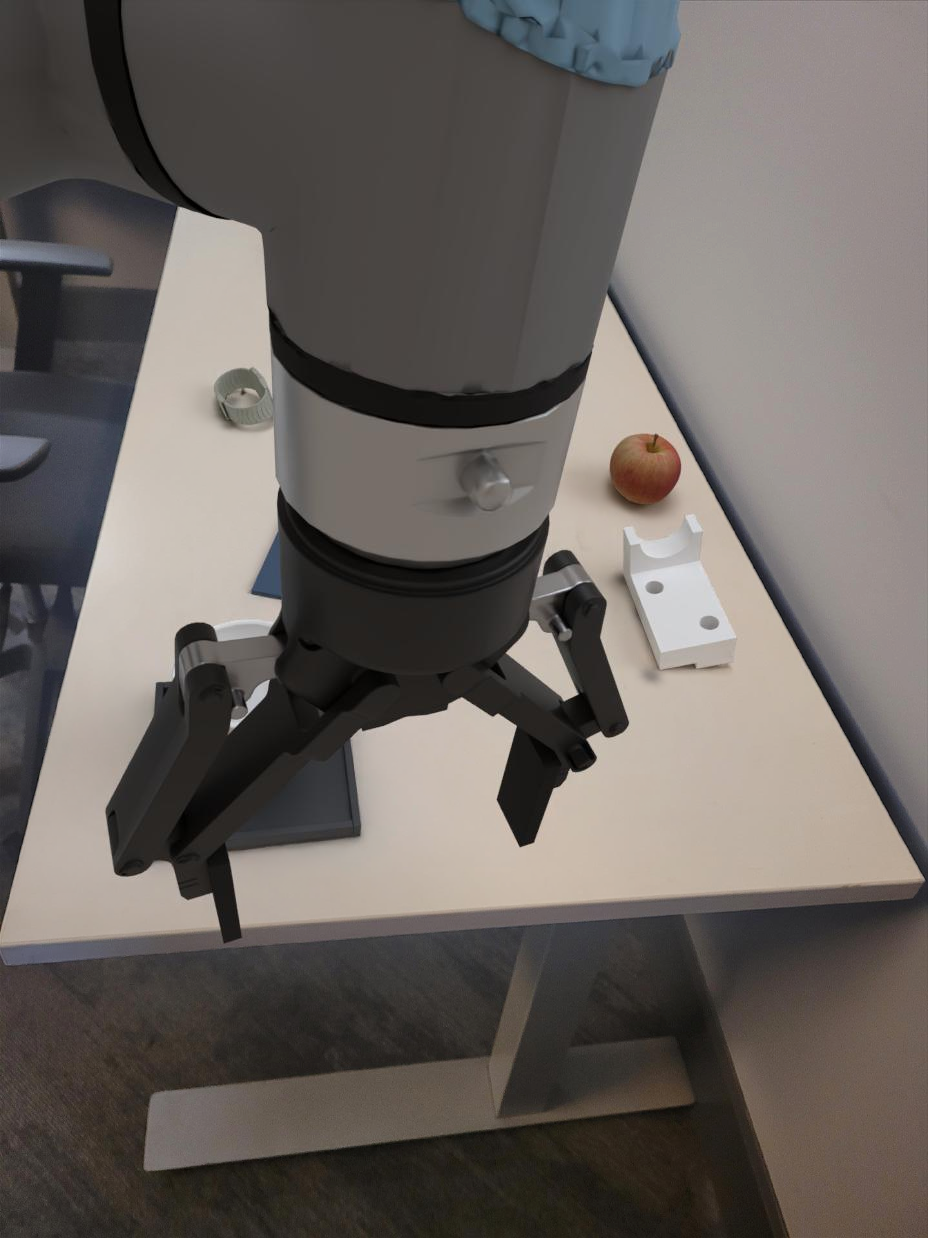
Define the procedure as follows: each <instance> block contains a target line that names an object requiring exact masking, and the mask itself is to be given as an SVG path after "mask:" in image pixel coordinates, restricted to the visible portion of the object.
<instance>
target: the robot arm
mask: <svg viewBox="0 0 928 1238" xmlns="http://www.w3.org/2000/svg"><path fill="white" fill-rule="evenodd" d="M680 3H681V0H0V202H3V201H6V200H8V199H11V198H13V197H17V196H19V195H22V194H24V193H27V192H30V191H32V190H35V189H38V188H41V187H42V186H46V185H47V184H51V183H54V182H57V181H61V180H72V179H73V180H74V179H80V180H81V179H82V180H83V179H84V180H94V181H99V182H102V183H105V184H108V185H111V186H113V187H118V188H121V189H124V190H127V191H130V192H133V193H136V194H139V195H141V196H145V197H148V198H151V199H154V200H157V201H160V202H163V203H166V204H169V205H172V206H175V207H178V208H182V209H185V210H188V211H190V212H193V213H198V214H200V215H204V216H207V217H210V218H214V219H218V220H225V221H234V222H236V223H240V224H243V225H246V226H249V227H251V228H255V229H256V230H257V231H258V232H259V233H260V235H261V240H262V249H263V262H264V280H265V282H264V283H265V296H266V297H265V298H266V306H267V309H268V330H269V331H268V332H269V340H270V341H269V343H270V344H269V345H270V369H271V391H272V392H271V396H272V399H273V415H272V418H273V419H272V420H273V423H272V424H273V442H274V443H273V444H274V445H273V446H274V467H275V468H274V470H275V471H274V472H275V478H276V481H277V483H278V485H279V487H278V491H277V498H276V514H277V532H278V537H279V558H280V579H281V599H280V600H281V605H280V606H281V607H280V610H279V613H278V616H277V617H276V619H275V621H273V622H274V624H273V625H272V627H271V629H270V631H269V633H268V635H267V636H259V637H251V638H243V639H235V640H227V641H220V642H218V639H217V636H216V632H215V629H214V628H213V626H212V625H211V624H209V623H207V622H205V621H204V622H201V621H200V622H199V621H195V622H191V623H187V624H185V625H184V626H182V627H180V628H179V629H178V631H177V632H175V636H174V663H175V677H174V679H173V681H172V680H171V681H172V682H171V684H170V686H169V688H168V690H167V692H166V694H165V696H164V698H163V700H162V702H161V703H160V705H159V707H158V709H157V711H156V713H155V715H154V714H153V717H152V719H151V721H150V722H149V725H148V726H147V729H146V731H145V732H144V734H143V736H142V738H141V740H140V742H139V744H138V745H137V748H136V749H135V751H134V753H133V755H132V757H131V759H130V761H129V762H128V765H127V767H126V768H125V770H124V772H123V774H122V776H121V779H119V781H118V784H117V786H116V788H115V790H113V791H114V792H113V793H112V795H111V797H110V799H109V801H108V803H107V804H106V806H105V811H104V812H105V813H104V814H105V819H106V827H107V833H108V841H109V847H110V854H111V861H112V866H113V873H114V874H115V875H116V876H119V877H122V878H129V877H134V876H138V875H140V874H143V873H144V872H146V871H148V870H149V869H150V868H151V866H152V865H153V863H154V862H159V861H160V862H167V863H169V864H170V865H171V866H172V868H173V871H174V875H175V879H176V883H177V886H178V887H177V888H178V891H179V894H180V897H181V898H183V899H185V900H187V901H190V900H194V899H197V898H201V897H203V896H207V895H210V894H212V897H213V902H214V907H215V911H216V916H217V921H218V924H219V930H220V933H221V937H222V942H223V944H224V945H225V944H228V943H230V942H233V941H237V940H240V939H243V934H242V929H241V922H240V916H239V910H238V909H239V908H238V904H237V903H238V902H237V896H236V891H235V884H234V878H233V873H232V866H231V860H230V856H229V853H228V852H229V851H227V848H226V843H225V841H226V840H227V839H228V838H230V837H231V836H232V835H233V834H234V833H235V832H236V831H237V830H238V829H239V828H240V827H241V826H242V825H243V824H244V823H245V822H246V821H247V820H248V819H249V818H250V817H251V816H253V815H254V814H255V813H256V812H257V811H258V810H259V809H260V808H261V807H262V806H263V805H264V804H265V803H266V802H267V801H268V800H269V799H270V798H271V797H272V796H273V795H274V794H275V793H277V792H278V791H279V790H280V789H281V788H282V787H283V786H284V785H285V784H286V783H287V782H288V781H289V780H290V779H291V778H292V777H293V776H294V775H295V774H296V773H297V772H298V771H300V770H301V769H302V768H303V767H304V766H305V765H306V764H307V763H308V762H309V761H310V760H314V761H319V762H325V761H326V760H328V759H329V758H330V757H331V756H332V755H333V754H334V753H335V752H336V751H337V750H339V749H340V748H341V747H342V746H343V745H344V744H345V743H346V742H347V741H348V740H349V739H350V740H351V738H352V737H353V736H355V735H356V734H357V733H358V732H359V731H360V730H361V732H365V731H370V730H373V729H374V730H375V729H378V728H381V727H385V726H387V725H390V724H392V723H394V722H397V721H400V720H402V719H405V718H407V717H420V716H429V715H433V714H437V713H441V712H444V711H447V710H448V709H449V705H450V704H452V703H453V702H455V701H457V700H460V699H464V700H466V701H467V702H469V703H470V704H471V705H473V706H474V707H476V708H477V709H479V710H481V711H483V712H484V713H486V714H487V715H488V716H490V717H492V718H494V717H495V716H496V715H500V716H501V717H503V718H504V719H506V720H507V721H508V722H510V723H511V724H513V725H514V726H516V727H515V731H514V734H513V738H512V742H511V745H510V748H509V753H508V756H507V761H506V764H505V766H504V771H503V775H502V778H501V781H500V785H499V789H498V793H497V796H496V802H497V804H498V806H499V808H500V810H501V812H502V814H503V816H504V818H505V821H506V823H507V824H508V827H509V828H510V831H511V833H512V835H513V837H514V839H515V841H516V843H517V845H518V847H519V848H524V847H525V846H529V845H532V844H535V841H536V839H537V836H538V833H539V830H540V827H541V825H542V822H543V819H544V816H545V813H546V811H547V808H548V805H549V803H550V800H551V797H552V795H553V792H554V789H557V788H560V787H561V786H562V785H563V784H564V783H565V781H566V780H567V778H568V777H569V776H568V775H569V773H570V771H571V773H582V772H583V771H586V770H588V769H590V768H591V767H592V766H594V764H595V763H596V762H597V759H598V756H597V755H596V753H595V750H594V749H593V748H592V746H591V744H590V743H589V741H588V739H589V738H590V737H593V736H595V735H597V734H599V733H601V734H602V735H603V737H605V738H607V739H611V738H614V737H617V736H619V735H621V734H623V733H624V732H626V730H627V729H628V727H629V726H630V720H629V717H628V714H627V711H626V708H625V705H624V703H623V699H622V696H621V694H620V691H619V687H618V685H617V682H616V680H615V676H614V674H613V670H612V668H611V665H610V662H609V659H608V655H607V653H606V650H605V648H604V644H603V641H602V638H601V636H602V631H603V627H604V621H605V616H606V612H607V606H608V601H607V599H606V597H605V596H604V595H603V594H602V592H601V591H600V589H599V587H598V586H597V585H596V583H595V582H594V581H593V579H592V577H591V576H590V575H589V573H588V572H587V570H586V569H585V568H584V566H583V565H582V564H581V562H580V561H579V559H578V558H577V557H576V555H575V553H573V551H572V550H569V549H561V550H558V551H556V552H554V553H553V554H551V555H550V556H549V557H548V558H547V559H546V560H545V561H544V564H543V567H542V575H541V576H539V572H540V569H541V565H542V561H543V556H544V553H545V548H546V544H547V541H548V537H549V532H550V523H551V522H550V513H551V511H552V510H553V509H554V507H555V504H556V500H557V496H558V492H559V488H560V484H561V481H562V476H563V473H564V469H565V464H566V460H567V456H568V452H569V447H570V445H571V441H572V436H573V432H574V428H575V424H576V420H577V416H578V412H579V409H580V404H581V400H582V396H583V392H584V388H585V384H586V381H587V375H588V371H589V368H590V367H589V366H590V363H591V359H592V355H593V349H594V347H595V339H596V335H597V332H598V328H599V324H600V321H601V317H602V313H603V310H604V305H605V302H606V298H607V294H608V291H609V287H610V283H611V280H612V277H613V272H614V268H615V265H616V261H617V256H618V254H619V249H620V246H621V242H622V239H623V235H624V230H625V227H626V223H627V220H628V216H629V211H630V208H631V205H632V200H633V197H634V193H635V189H636V187H637V186H636V185H637V182H638V178H639V174H640V171H641V167H642V163H643V159H644V156H645V152H646V149H647V145H648V142H649V138H650V135H651V131H652V127H653V124H654V122H655V117H656V114H657V110H658V107H659V103H660V100H661V96H662V92H663V89H664V85H665V82H666V78H667V75H668V71H669V70H670V69H672V68H673V65H674V63H675V59H676V57H677V51H678V48H679V44H680V40H681V35H682V34H681V31H680V26H679V22H678V13H679V8H680ZM530 622H536V623H537V625H538V626H539V628H540V630H541V631H542V632H543V633H546V634H551V635H552V637H553V639H554V642H555V644H556V646H557V648H558V651H559V654H560V656H561V658H562V660H563V663H564V665H565V667H566V669H567V672H568V675H569V677H570V679H571V682H572V684H573V686H574V688H575V691H576V693H577V694H576V695H574V696H572V697H570V698H567V699H566V700H564V699H563V697H562V696H561V695H560V694H558V693H557V692H556V691H555V690H553V689H552V688H551V687H550V686H548V685H547V684H546V683H545V682H543V681H542V680H541V679H540V678H538V677H537V676H536V675H534V674H533V673H532V672H531V671H529V670H528V669H527V668H526V667H524V666H523V665H522V664H520V663H519V662H518V661H517V660H515V659H514V658H513V657H511V656H510V655H509V654H508V652H509V650H510V649H511V648H513V647H514V646H515V645H516V643H517V642H518V641H519V640H520V639H521V638H522V637H523V636H524V634H525V633H526V631H527V629H528V627H529V624H530ZM267 680H270V681H269V685H268V692H267V694H266V696H265V697H264V699H263V700H262V701H261V702H260V703H259V704H258V705H257V706H256V707H255V708H254V709H253V710H252V711H251V712H250V713H249V714H248V715H247V716H246V714H247V713H248V708H247V705H246V702H247V701H248V700H249V699H250V698H251V696H252V694H253V692H254V690H255V689H256V687H257V686H258V685H260V684H261V683H263V682H265V681H267ZM317 708H318V709H319V710H321V711H322V712H324V713H323V714H322V715H321V716H320V715H319V712H318V709H317ZM245 716H246V717H245ZM243 717H245V718H244V719H243V720H242V721H241V722H240V723H239V724H238V725H237V726H236V727H235V728H234V729H233V730H232V731H231V732H230V733H229V734H228V732H229V729H230V723H231V719H234V720H238V719H241V718H243Z"/></svg>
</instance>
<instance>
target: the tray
mask: <svg viewBox="0 0 928 1238" xmlns="http://www.w3.org/2000/svg"><path fill="white" fill-rule="evenodd" d="M171 682H172V680H170V681H157V682H155V690H154V706H153V716H154V715H155V713H156V711H157V709H158V707H159V705H160V703H161V702H162V700H163V698H164V696H165V694H166V692H167V690H168V688H169V686H170V684H171ZM317 709H318V708H317ZM318 712H319V715H320V716H321V715H322V714H323V713H324V712H322V711H321V710H319V709H318ZM361 821H362V820H361V813H360V804H359V798H358V789H357V780H356V773H355V765H354V757H353V748H352V742H351V738H350V739H349V740H348V741H347V742H346V743H345V744H344V745H343V746H342V747H341V748H340V749H339V750H337V751H336V752H335V753H334V754H333V755H332V756H331V757H330V758H329V759H328V760H326V761H325V762H319V761H314V760H310V761H309V762H308V763H307V764H306V765H305V766H304V767H303V768H302V769H301V770H300V771H298V772H297V773H296V774H295V775H294V776H293V777H292V778H291V779H290V780H289V781H288V782H287V783H286V784H285V785H284V786H283V787H282V788H281V789H280V790H279V791H278V792H277V793H275V794H274V795H273V796H272V797H271V798H270V799H269V800H268V801H267V802H266V803H265V804H264V805H263V806H262V807H261V808H260V809H259V810H258V811H257V812H256V813H255V814H254V815H253V816H251V817H250V818H249V819H248V820H247V821H246V822H245V823H244V824H243V825H242V826H241V827H240V828H239V829H238V830H237V831H236V832H235V833H234V834H233V835H232V836H231V837H230V838H228V839H227V840H226V841H225V843H226V848H227V852H233V851H242V850H243V851H244V850H251V849H252V850H253V849H259V848H260V849H261V848H269V847H278V846H288V845H295V844H305V843H306V844H307V843H315V842H322V841H333V840H340V839H350V838H359V837H361V836H362V835H361V833H362V822H361Z"/></svg>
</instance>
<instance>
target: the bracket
mask: <svg viewBox="0 0 928 1238" xmlns="http://www.w3.org/2000/svg"><path fill="white" fill-rule="evenodd" d="M622 531H623V532H622V533H623V534H622V535H623V536H622V541H623V542H622V544H623V548H622V549H623V550H622V552H623V553H622V557H623V558H622V575H623V578H624V580H625V583H626V586H627V589H628V591H629V593H630V596H631V598H632V601H633V604H634V606H635V608H636V609H635V610H636V612H637V614H638V616H639V620H640V622H641V624H642V627H643V630H644V632H645V635H646V637H647V638H646V639H647V640H648V642H649V646H650V648H651V651H652V654H653V656H654V658H655V661H656V664H657V666H658V669H659V671H663V670H668V669H672V668H678V667H682V666H687V665H692V664H693V665H694V667H695V669H696V670H699V669H703V668H709V667H714V666H718V665H725V664H728V663H734V659H735V658H734V657H735V651H736V645H737V639H738V638H737V635H736V633H735V631H734V629H733V626H732V625H731V622H730V620H729V618H728V616H727V614H726V612H725V610H724V608H723V606H722V604H721V602H720V600H719V597H718V596H717V593H716V591H715V589H714V587H713V585H712V582H711V580H710V579H709V576H708V574H707V572H706V570H705V568H704V566H703V563H702V562H701V553H702V544H703V543H702V542H703V532H704V530H703V528H702V526H701V525H700V522H699V520H698V518H697V517H696V514H695V513H690V514H685V515H684V518H683V520H682V523H681V524H680V525H679V527H678V528H677V529H676V530H675V531H674V532H673V533H671V534H669V535H667V536H665V537H663V538H659V539H654V540H652V539H651V540H650V539H645V538H641V537H640V536H638V535H637V533H636V530H635V527H634V525H630V526H625V527H623V529H622Z"/></svg>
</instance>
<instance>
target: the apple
mask: <svg viewBox="0 0 928 1238" xmlns="http://www.w3.org/2000/svg"><path fill="white" fill-rule="evenodd" d="M681 460H682V459H681V457H680V454H679V453H678V451H677V449H676V448H675V446H674V445H673V444H672V443H671V442H670V441H668V440H667V438H664V437H662V436H661V435H659V434H658V433H654V434H652V433H636V434H632V435H628V436H626V437H625V438H623V439H622V440H620V441H619V443H618V444H617V445H616V446H615V448H614V449H613V452H612V453H611V456H610V460H609V474H610V479H611V481H612V484H613V487H614V488H615V489H616V490H617V492H618V493H619V494H620V495H621V496H622V497H623V498H625V500H628V502H632V503H635V504H640V505H651V504H654V503H658V502H660V501H662V500H664V499H665V498H666V497H667V496H668V495H670V493H671V492H672V491H673V490H674V488H675V487H676V485H677V484H678V482H679V479H680V477H681V474H682V461H681Z"/></svg>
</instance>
